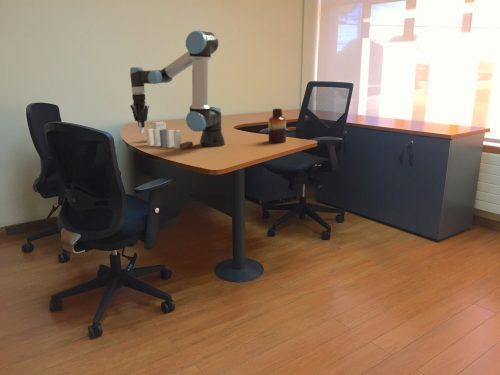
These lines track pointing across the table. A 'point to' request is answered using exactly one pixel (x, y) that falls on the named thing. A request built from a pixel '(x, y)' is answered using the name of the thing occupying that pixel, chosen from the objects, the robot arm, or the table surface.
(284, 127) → the brown bottle
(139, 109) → the robot arm
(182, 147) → the block
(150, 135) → the domino
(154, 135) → the domino
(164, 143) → the domino
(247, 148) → the table surface
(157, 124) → the ink box
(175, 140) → the domino
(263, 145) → the table surface
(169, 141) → the domino
